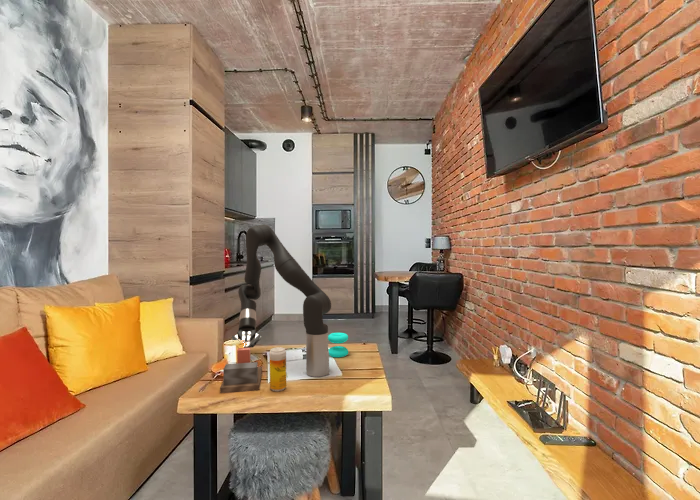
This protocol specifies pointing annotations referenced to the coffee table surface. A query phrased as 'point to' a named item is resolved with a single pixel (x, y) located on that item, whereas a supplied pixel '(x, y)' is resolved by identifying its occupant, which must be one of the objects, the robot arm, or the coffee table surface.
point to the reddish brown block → (243, 355)
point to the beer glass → (277, 369)
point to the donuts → (338, 350)
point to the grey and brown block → (241, 377)
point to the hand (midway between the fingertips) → (245, 355)
